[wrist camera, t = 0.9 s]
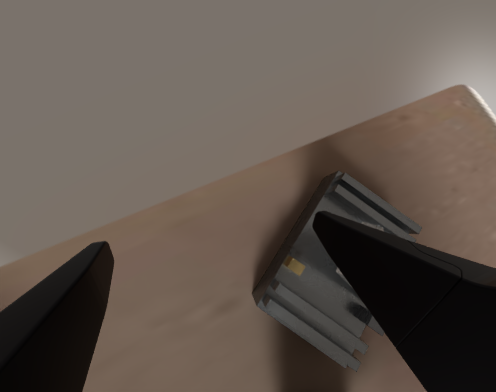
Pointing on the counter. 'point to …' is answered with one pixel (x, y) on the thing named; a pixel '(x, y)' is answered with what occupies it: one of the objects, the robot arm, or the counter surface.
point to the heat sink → (326, 272)
